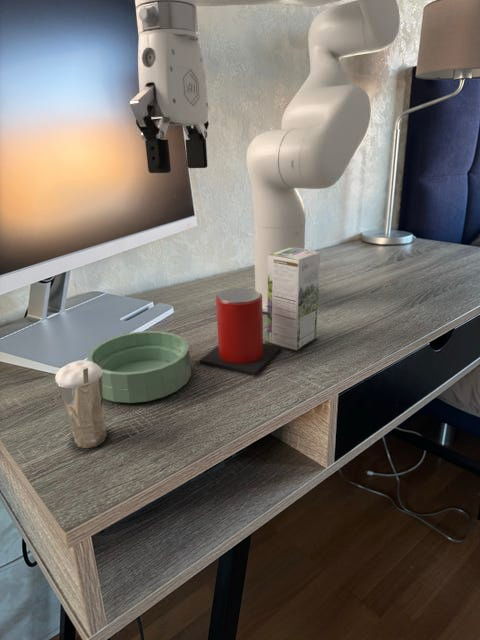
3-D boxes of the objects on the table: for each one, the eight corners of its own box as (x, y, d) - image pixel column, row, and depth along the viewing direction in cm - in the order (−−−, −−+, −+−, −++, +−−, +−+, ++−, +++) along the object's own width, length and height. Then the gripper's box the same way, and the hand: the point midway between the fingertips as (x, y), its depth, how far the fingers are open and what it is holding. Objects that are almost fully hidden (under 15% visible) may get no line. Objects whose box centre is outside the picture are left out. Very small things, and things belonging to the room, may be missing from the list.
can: (232, 341, 70) (229, 286, 67) (270, 348, 68) (269, 291, 64) (210, 358, 65) (207, 299, 62) (251, 367, 62) (249, 305, 59)
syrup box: (286, 331, 75) (287, 246, 69) (317, 339, 71) (320, 250, 66) (266, 342, 71) (265, 253, 65) (298, 352, 67) (299, 258, 62)
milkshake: (79, 462, 45) (61, 375, 42) (64, 437, 49) (46, 356, 46) (121, 445, 48) (108, 361, 44) (104, 422, 52) (90, 344, 48)
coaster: (229, 339, 72) (229, 337, 72) (280, 349, 68) (280, 346, 68) (200, 363, 65) (199, 360, 65) (255, 375, 61) (255, 372, 61)
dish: (136, 352, 69) (133, 325, 68) (209, 368, 63) (207, 339, 62) (71, 392, 58) (65, 361, 57) (151, 416, 53) (146, 383, 51)
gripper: (151, 6, 47) (167, 174, 54) (225, 36, 62) (231, 166, 68) (97, 17, 50) (118, 175, 57) (179, 43, 65) (189, 166, 71)
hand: (179, 170), depth 62 cm, fingers open, 9 cm apart
